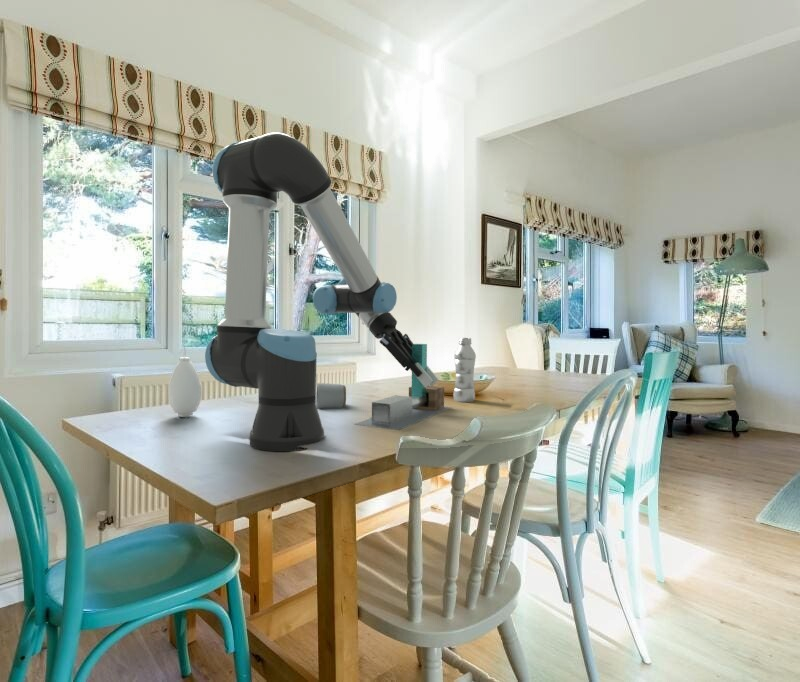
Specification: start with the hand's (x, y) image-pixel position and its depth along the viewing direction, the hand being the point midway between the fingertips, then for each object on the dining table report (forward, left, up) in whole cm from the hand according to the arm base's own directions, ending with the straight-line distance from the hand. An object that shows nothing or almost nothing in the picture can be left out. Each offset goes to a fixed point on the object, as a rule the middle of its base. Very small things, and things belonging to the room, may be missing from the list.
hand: (432, 383), depth 136 cm
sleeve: (-15, +4, -8) cm, 17 cm away
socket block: (+5, +4, -8) cm, 10 cm away
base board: (-7, +4, -9) cm, 12 cm away
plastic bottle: (+22, -1, -9) cm, 24 cm away
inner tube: (-2, +4, -6) cm, 8 cm away
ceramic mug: (-5, +29, -9) cm, 31 cm away
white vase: (-33, +55, -9) cm, 65 cm away
